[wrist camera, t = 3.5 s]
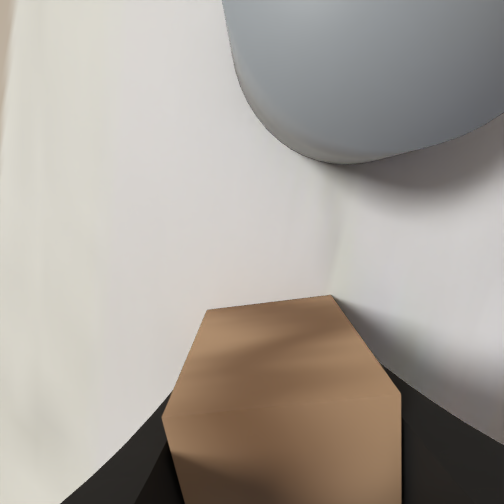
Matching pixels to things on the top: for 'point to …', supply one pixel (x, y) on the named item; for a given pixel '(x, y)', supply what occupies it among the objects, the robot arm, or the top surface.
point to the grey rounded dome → (368, 72)
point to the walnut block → (284, 410)
